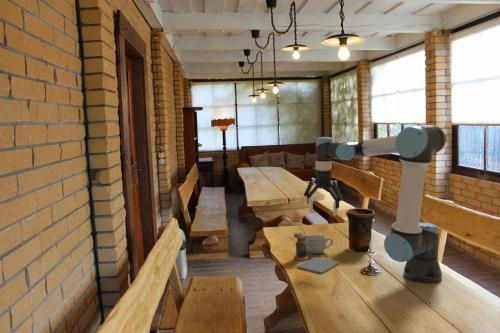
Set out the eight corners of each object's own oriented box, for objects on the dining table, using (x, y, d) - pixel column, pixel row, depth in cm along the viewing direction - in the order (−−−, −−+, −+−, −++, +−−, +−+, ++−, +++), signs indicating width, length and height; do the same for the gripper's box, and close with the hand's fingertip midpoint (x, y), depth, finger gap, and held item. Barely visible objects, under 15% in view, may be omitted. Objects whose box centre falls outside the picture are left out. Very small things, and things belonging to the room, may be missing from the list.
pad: (339, 263, 199) (339, 262, 199) (322, 274, 187) (322, 272, 187) (315, 258, 207) (315, 256, 207) (297, 267, 195) (297, 266, 195)
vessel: (363, 242, 231) (364, 206, 228) (379, 250, 217) (380, 212, 214) (340, 245, 226) (340, 209, 223) (355, 254, 213) (355, 215, 210)
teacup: (302, 254, 214) (302, 238, 213) (307, 247, 224) (307, 233, 223) (330, 257, 209) (330, 241, 208) (334, 250, 219) (334, 235, 218)
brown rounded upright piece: (311, 257, 208) (311, 234, 207) (303, 261, 203) (303, 237, 201) (299, 255, 213) (299, 231, 211) (291, 258, 207) (291, 234, 206)
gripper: (351, 170, 199) (349, 215, 202) (305, 166, 215) (304, 207, 218) (343, 172, 193) (342, 218, 196) (297, 168, 209) (296, 210, 212)
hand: (322, 212), depth 207 cm, fingers open, 13 cm apart
